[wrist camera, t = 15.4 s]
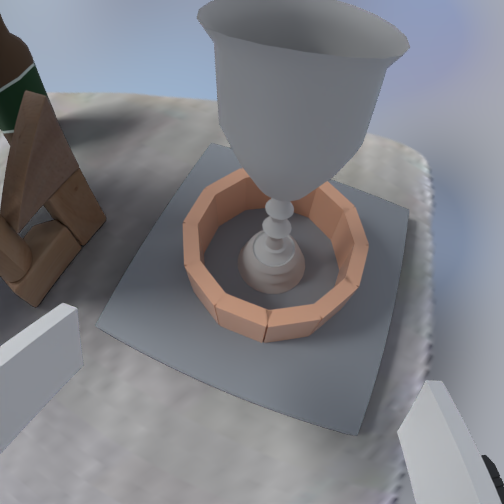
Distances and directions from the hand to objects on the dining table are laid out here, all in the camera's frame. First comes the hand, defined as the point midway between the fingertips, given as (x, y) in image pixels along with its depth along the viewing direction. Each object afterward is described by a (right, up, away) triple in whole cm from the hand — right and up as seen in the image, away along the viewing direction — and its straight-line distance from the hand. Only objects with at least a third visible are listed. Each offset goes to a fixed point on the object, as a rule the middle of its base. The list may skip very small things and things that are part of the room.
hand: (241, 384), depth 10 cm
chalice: (+2, +4, +14) cm, 15 cm away
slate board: (+2, +3, +15) cm, 16 cm away
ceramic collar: (+2, +4, +14) cm, 14 cm away
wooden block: (-17, +4, +16) cm, 24 cm away
